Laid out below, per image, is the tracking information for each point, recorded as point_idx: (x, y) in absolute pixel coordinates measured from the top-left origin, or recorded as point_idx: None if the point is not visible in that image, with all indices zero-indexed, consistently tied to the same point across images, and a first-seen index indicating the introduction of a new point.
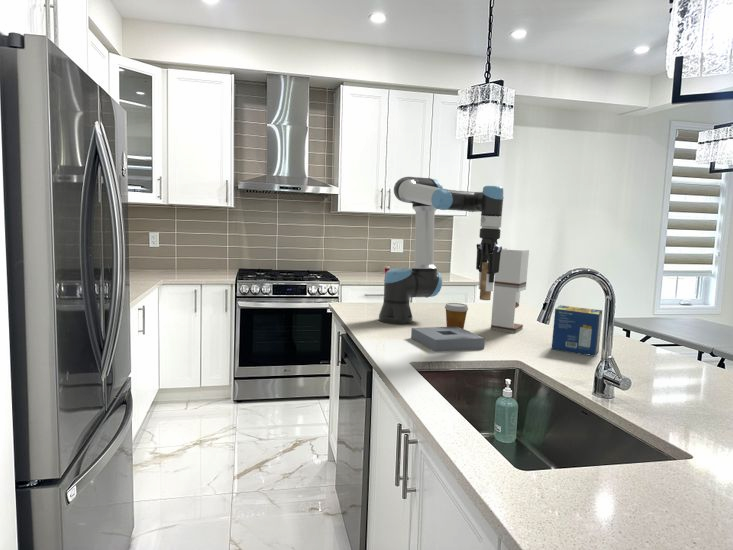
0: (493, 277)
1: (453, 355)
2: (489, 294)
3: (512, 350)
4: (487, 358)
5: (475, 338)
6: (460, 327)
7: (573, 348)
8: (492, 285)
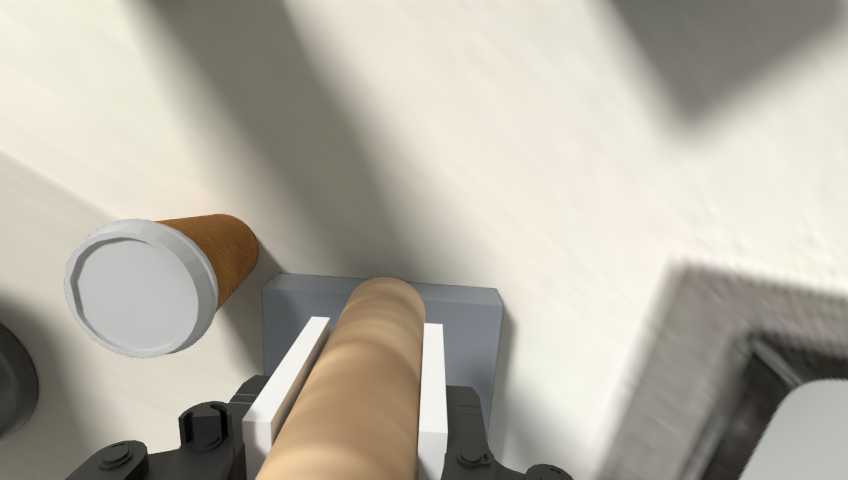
0: (484, 435)
1: (540, 442)
2: (423, 326)
3: (550, 185)
4: (612, 358)
5: (497, 348)
6: (246, 256)
7: None
8: (442, 357)
